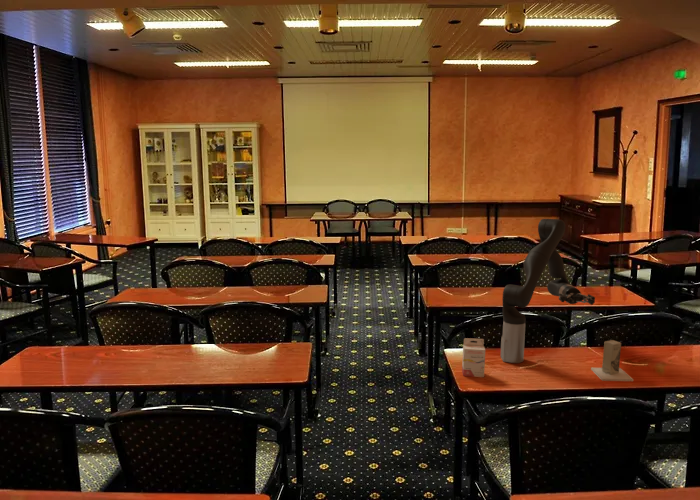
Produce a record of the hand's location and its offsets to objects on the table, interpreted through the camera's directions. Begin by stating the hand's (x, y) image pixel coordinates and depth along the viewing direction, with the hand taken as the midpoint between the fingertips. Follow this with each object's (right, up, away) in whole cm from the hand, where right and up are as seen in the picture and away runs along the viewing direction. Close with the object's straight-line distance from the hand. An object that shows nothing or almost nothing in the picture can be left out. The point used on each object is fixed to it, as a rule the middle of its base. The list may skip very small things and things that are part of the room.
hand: (582, 302), depth 239 cm
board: (+6, -28, -13) cm, 32 cm away
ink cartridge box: (-50, -29, -12) cm, 58 cm away
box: (+6, -28, -12) cm, 31 cm away
